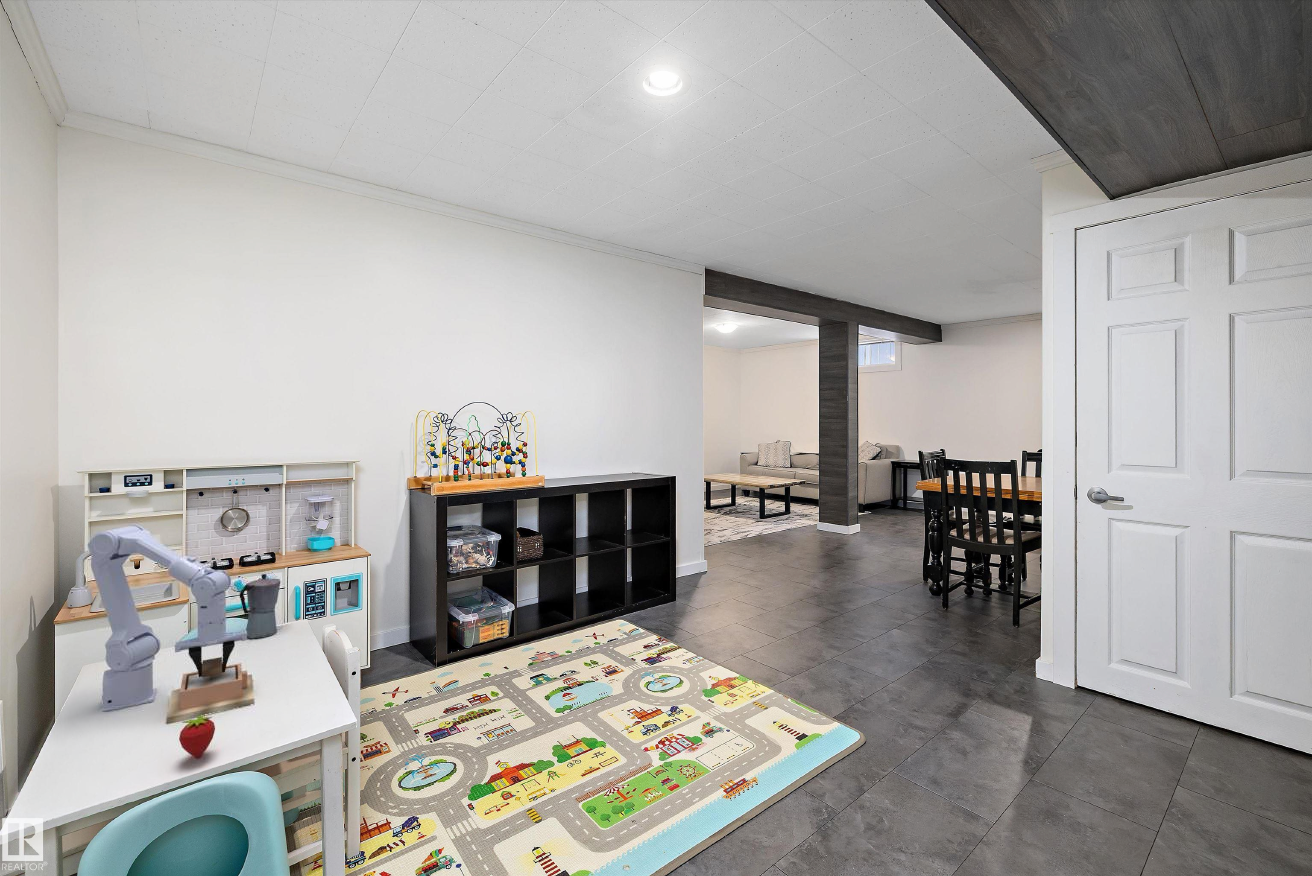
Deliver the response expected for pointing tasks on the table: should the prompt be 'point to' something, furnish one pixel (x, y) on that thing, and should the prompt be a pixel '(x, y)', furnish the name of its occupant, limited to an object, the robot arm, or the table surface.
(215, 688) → the shallow wooden crate
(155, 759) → the table surface
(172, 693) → the light wood rectangular frame
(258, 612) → the moka pot
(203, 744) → the strawberry
